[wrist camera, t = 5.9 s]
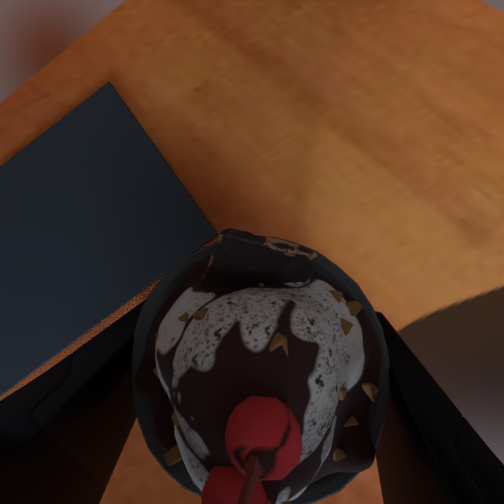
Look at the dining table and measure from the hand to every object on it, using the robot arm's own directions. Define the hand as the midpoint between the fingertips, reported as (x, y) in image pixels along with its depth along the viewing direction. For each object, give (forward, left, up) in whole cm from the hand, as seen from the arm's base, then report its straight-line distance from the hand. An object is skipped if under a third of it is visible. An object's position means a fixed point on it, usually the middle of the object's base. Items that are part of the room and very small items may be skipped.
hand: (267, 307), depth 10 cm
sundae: (-1, +1, -8) cm, 8 cm away
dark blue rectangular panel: (+13, +10, -8) cm, 18 cm away
